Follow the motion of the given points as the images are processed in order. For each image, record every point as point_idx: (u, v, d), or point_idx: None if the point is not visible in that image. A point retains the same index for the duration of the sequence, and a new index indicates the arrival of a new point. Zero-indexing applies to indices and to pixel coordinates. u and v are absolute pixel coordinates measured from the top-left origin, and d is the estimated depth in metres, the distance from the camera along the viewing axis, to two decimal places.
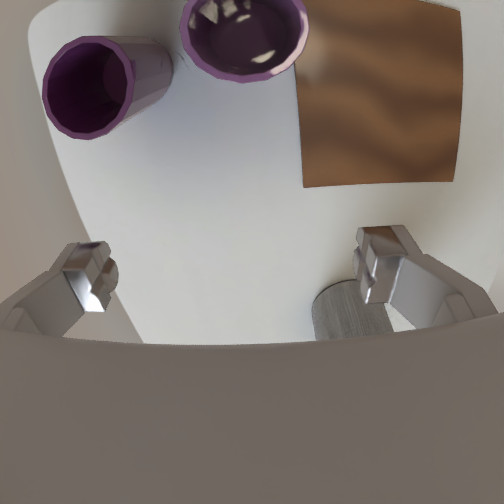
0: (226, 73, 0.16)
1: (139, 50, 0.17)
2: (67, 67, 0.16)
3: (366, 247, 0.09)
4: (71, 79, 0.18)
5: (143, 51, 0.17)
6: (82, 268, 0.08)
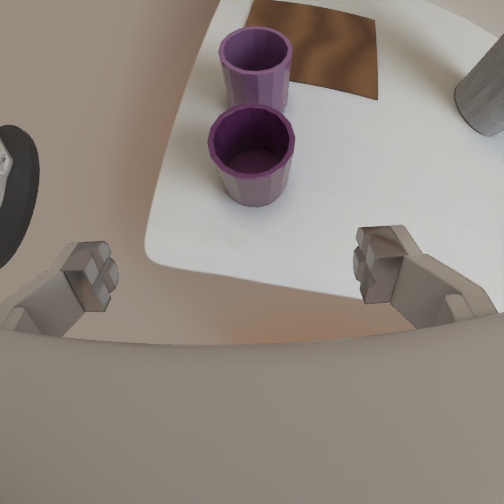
0: (282, 61, 0.26)
1: None
2: None
3: (366, 247, 0.09)
4: None
5: None
6: (82, 268, 0.08)
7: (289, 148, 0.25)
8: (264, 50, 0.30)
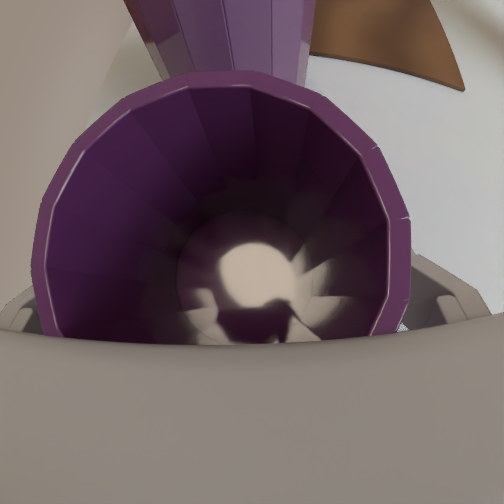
0: None
1: None
2: (122, 341, 0.07)
3: None
4: None
5: None
6: None
7: (393, 285, 0.05)
8: None
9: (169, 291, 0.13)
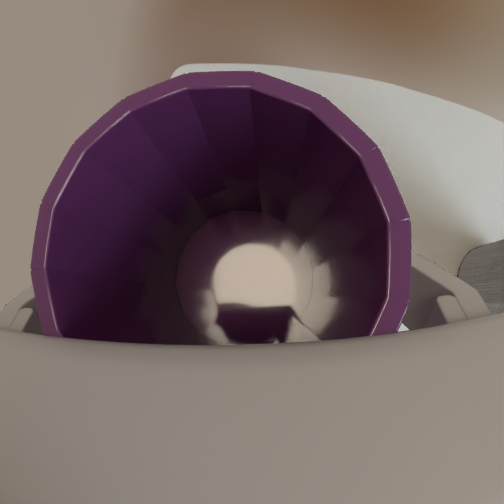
0: None
1: None
2: None
3: None
4: None
5: None
6: None
7: (393, 287, 0.05)
8: None
9: (169, 292, 0.13)
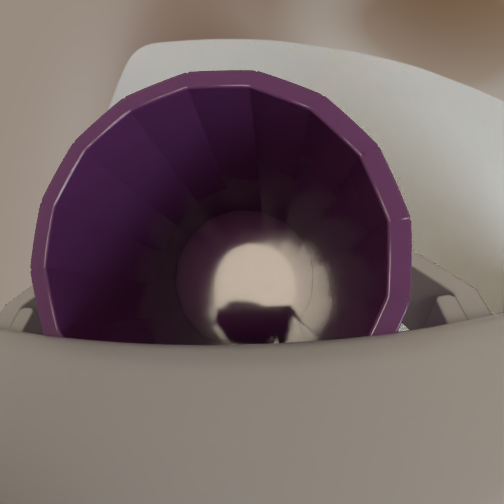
0: None
1: None
2: (122, 341, 0.07)
3: None
4: None
5: None
6: None
7: (393, 286, 0.05)
8: None
9: (169, 291, 0.13)
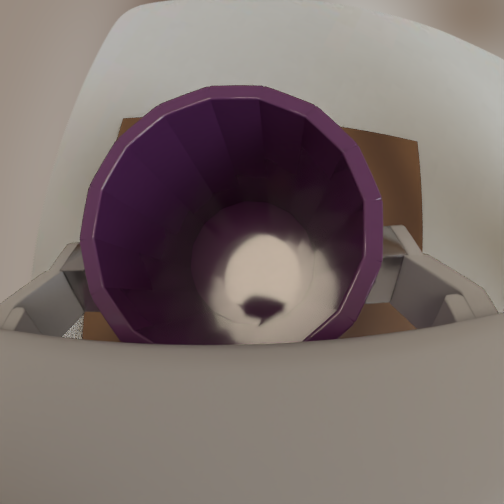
0: None
1: None
2: (152, 305, 0.09)
3: None
4: (191, 327, 0.10)
5: None
6: (82, 268, 0.08)
7: (368, 249, 0.06)
8: None
9: (186, 272, 0.15)
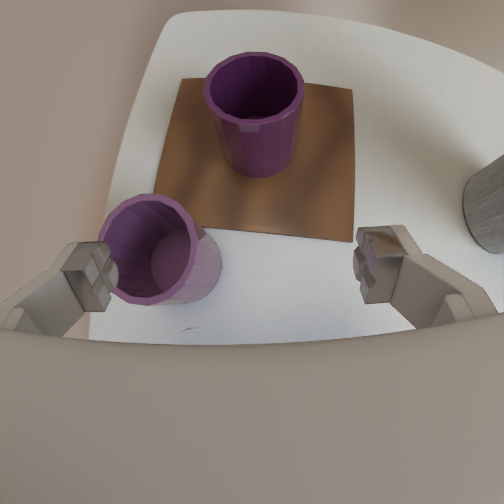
0: (182, 274, 0.19)
1: None
2: None
3: (366, 247, 0.09)
4: None
5: None
6: (82, 268, 0.08)
7: (298, 91, 0.20)
8: (172, 215, 0.23)
9: None
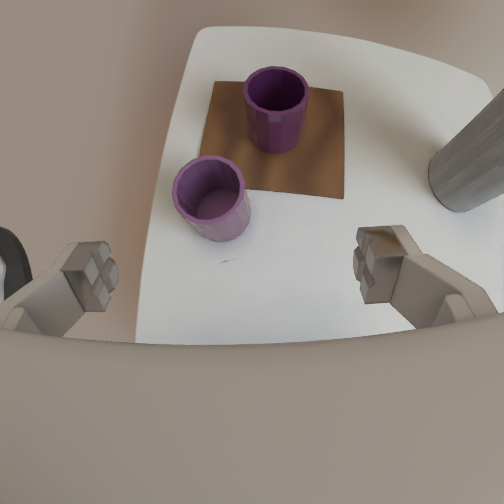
0: (235, 204, 0.30)
1: None
2: None
3: (366, 247, 0.09)
4: None
5: None
6: (82, 268, 0.08)
7: (305, 93, 0.31)
8: (220, 173, 0.34)
9: None
